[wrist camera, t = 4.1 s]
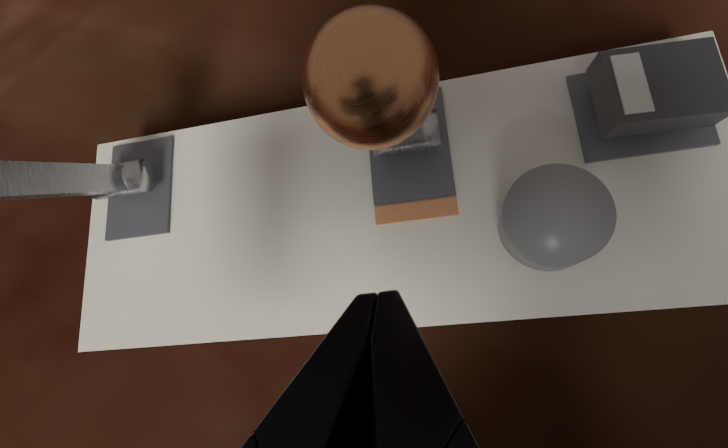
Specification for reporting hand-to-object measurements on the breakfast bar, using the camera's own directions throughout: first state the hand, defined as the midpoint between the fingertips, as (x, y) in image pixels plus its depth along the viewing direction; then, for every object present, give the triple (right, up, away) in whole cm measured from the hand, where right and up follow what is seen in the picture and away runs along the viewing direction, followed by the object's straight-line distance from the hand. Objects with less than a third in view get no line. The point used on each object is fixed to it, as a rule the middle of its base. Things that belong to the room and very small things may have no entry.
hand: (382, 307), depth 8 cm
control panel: (+1, +2, +13) cm, 13 cm away
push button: (+7, +2, +7) cm, 10 cm away
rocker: (+11, +7, +7) cm, 14 cm away
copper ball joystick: (+1, +6, +9) cm, 11 cm away
